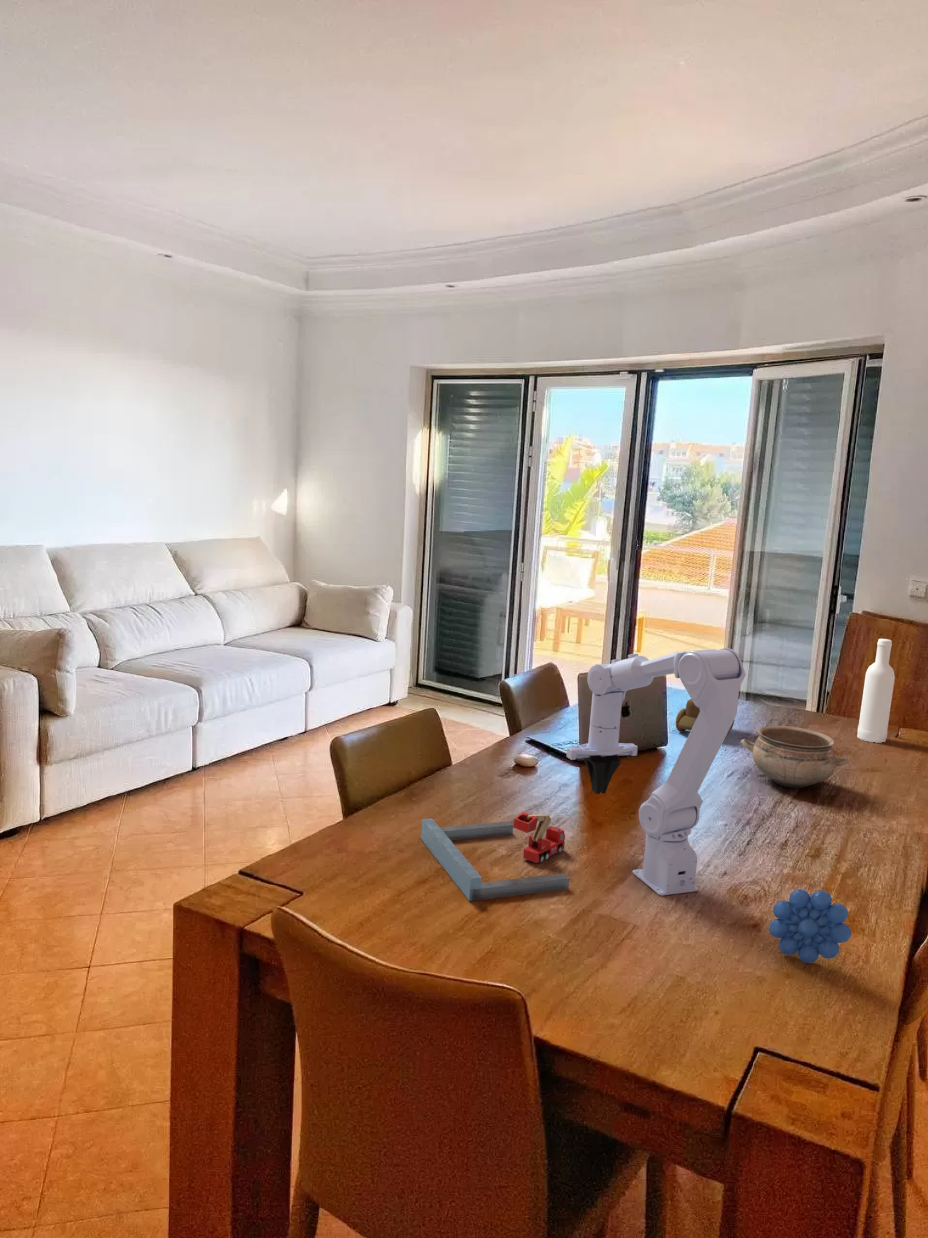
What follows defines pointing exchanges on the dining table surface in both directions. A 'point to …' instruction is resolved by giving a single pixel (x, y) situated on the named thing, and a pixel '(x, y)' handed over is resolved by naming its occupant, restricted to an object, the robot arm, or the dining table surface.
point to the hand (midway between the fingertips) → (598, 792)
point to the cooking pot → (793, 755)
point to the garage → (465, 872)
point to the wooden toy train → (688, 717)
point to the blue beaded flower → (810, 925)
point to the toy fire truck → (540, 836)
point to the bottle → (877, 696)
